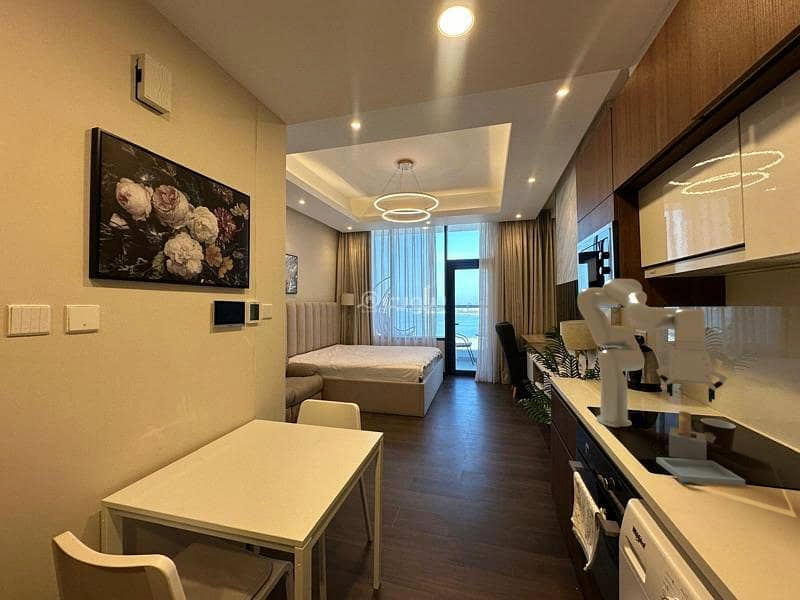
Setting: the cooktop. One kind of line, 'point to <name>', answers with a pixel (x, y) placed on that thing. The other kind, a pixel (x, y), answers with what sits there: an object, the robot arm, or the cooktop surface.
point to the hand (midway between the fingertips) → (690, 398)
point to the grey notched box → (687, 445)
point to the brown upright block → (684, 424)
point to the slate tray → (699, 472)
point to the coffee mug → (717, 434)
